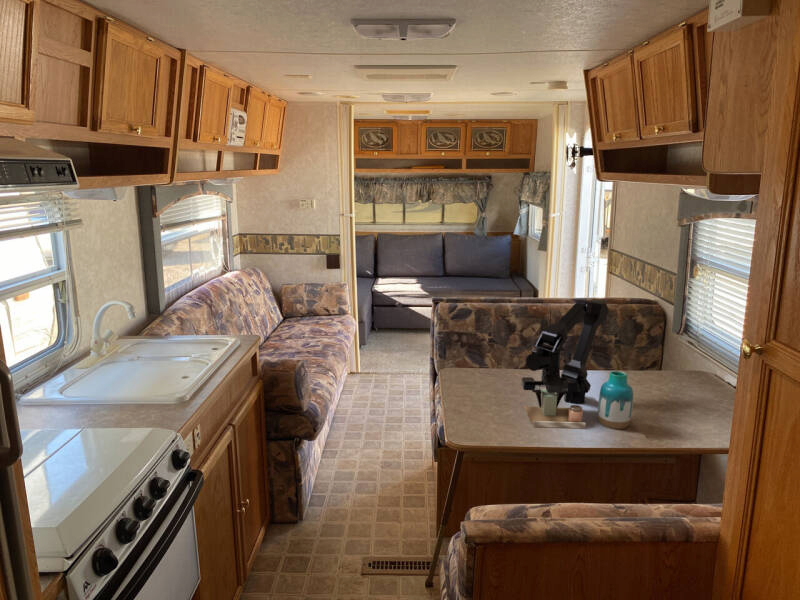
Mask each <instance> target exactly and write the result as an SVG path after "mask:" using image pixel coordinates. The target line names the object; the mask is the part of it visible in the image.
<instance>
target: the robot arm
mask: <svg viewBox="0 0 800 600" xmlns="http://www.w3.org/2000/svg"><path fill="white" fill-rule="evenodd" d="M609 312H610V310H609V306H608V305H607V303H605V302H601V301H595V300H591V299H590V300H584V299H577V300H575V301H574V304H573V306H571V307H570V309H569V310H567V312H566V313H565V314H564V315H563V316H562V317H561V318H560V319H559V320H558V321H557V322H555V323H552V324H551V323H550V325H548V326H547V327H546V328H544V329H543V330H542V332H541V333H540V335H539V338H538V339H537V341H536V344H535V345H534V348H535V349H533V350H531V353H530V354H528V355H527V356H526V358H525V364H526V366H527V368H528V369H529V370H530V371H531V372H536V371H539V370H541V375H540V376H541V377H540V379H541V380H535V379H534V377H532V376H531V377H525V376H523V377H522V378H521V382H520V385H521V387H522V390H523V391H532V392H533V393H535V396H536V399H537V403H538V407H540V408H541V388H542V387H545V389H546V391H547V392H548V393H555V394H556V396H557V405H556V408H557V407H558V406H559V404H560V402H561V400H562V398H563V401H564V402H565V403H567V404H568V403H569V404H572V405H581V404H585V402H586V401H585V400H586V394H588V393H589V392H590V390H591V386H592V385H591V383H590V382H589V380H588V379H587V377H588V370H587V366H586V364H587V362H588V358H589V355H590V352H591V348H592V346H593V343H594V340H595V337H596V334H597V330H598V328H599V327H600V326H601V325H602V324H603V323H604V322H605V320H606V319H607V316H608V315H609ZM581 319H582V321H583V324H582V328H581V331H580V335H579V337H578V341H577V344H576V346H575V350H574V353H573V356H572V359H571V360H570V361H569V363H565V364H564V365H563V369H562V370H560V367H561V366H560V365H561V352H562V353H563V352H565V348H564V347H563V346H564V345H565V343H566V342H567V341H568V337H569V332H571V330H572V329H573V328H574V327H575V326H576V325H577V324H578V323H579V322H580V321H581Z"/></svg>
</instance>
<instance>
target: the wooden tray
mask: <svg viewBox="0 0 800 600" xmlns="http://www.w3.org/2000/svg"><path fill="white" fill-rule="evenodd" d="M523 407H524V410H525V412H526V414H527V416H528V419H529V421H530V424H531V426H532V428H552V429H554V428H555V429H556V428H557V429H583V430H584V429H586V424H587V423H586V422H583V421H582V422H568V417H569V408H570V407H557V408H556V416H544V415H543V413H542V411H541V409H540V407H539V406H523Z"/></svg>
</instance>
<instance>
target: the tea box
mask: <svg viewBox="0 0 800 600" xmlns="http://www.w3.org/2000/svg"><path fill="white" fill-rule="evenodd" d="M540 390H541V408H540V409H541V411H542V413H543V415H544V416H556V405H557V396H556V393H548V392H547V391H546V388H540Z"/></svg>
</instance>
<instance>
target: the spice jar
mask: <svg viewBox="0 0 800 600" xmlns="http://www.w3.org/2000/svg"><path fill="white" fill-rule="evenodd" d="M568 408H569V417H568V422H583V414H584V410H583V407H582V406H580V405H579V404H572V405H570V407H568Z"/></svg>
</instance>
